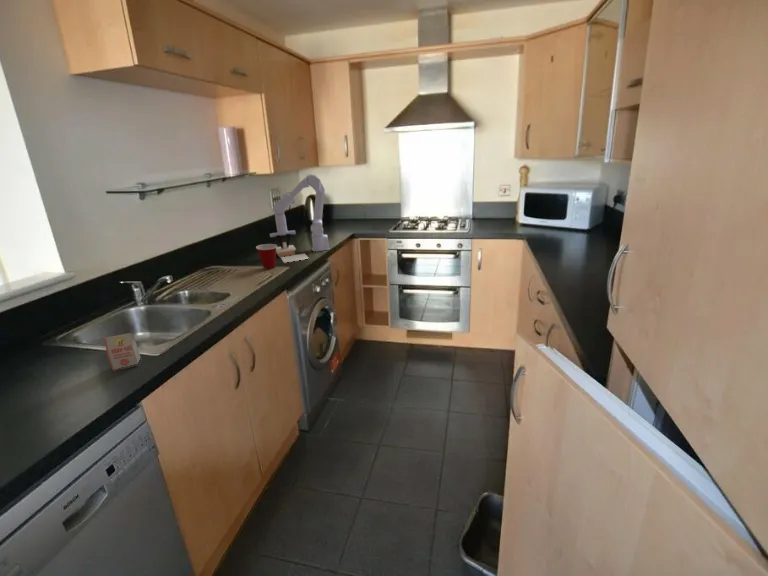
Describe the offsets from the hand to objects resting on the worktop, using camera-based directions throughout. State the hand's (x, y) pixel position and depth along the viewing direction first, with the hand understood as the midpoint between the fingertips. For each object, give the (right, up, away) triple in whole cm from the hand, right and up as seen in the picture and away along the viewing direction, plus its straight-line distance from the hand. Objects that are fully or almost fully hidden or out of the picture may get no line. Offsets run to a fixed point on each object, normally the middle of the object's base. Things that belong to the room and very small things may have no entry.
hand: (284, 247), depth 237 cm
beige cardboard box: (-17, -47, -118) cm, 129 cm away
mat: (+8, -7, -9) cm, 14 cm away
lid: (0, -1, 0) cm, 1 cm away
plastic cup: (-2, -13, -25) cm, 28 cm away
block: (0, -4, +1) cm, 4 cm away
